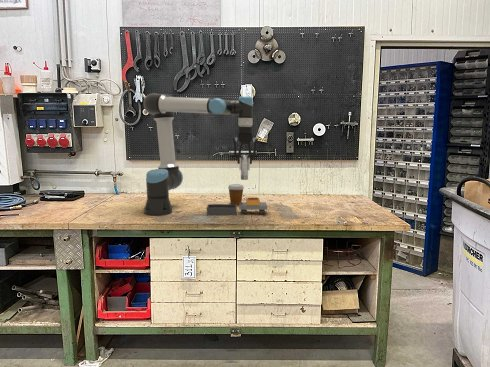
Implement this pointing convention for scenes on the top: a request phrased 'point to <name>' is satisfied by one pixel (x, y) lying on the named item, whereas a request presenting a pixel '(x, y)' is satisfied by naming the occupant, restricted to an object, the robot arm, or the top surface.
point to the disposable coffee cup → (235, 193)
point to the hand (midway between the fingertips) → (244, 169)
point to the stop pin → (244, 167)
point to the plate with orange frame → (252, 205)
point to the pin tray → (221, 209)
